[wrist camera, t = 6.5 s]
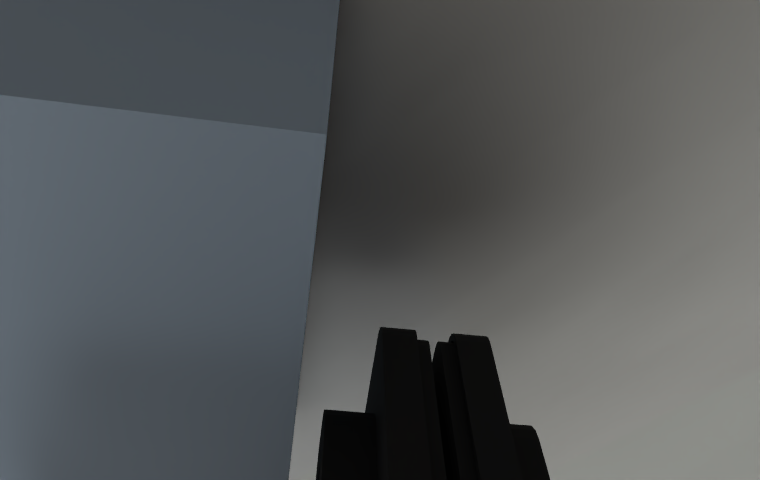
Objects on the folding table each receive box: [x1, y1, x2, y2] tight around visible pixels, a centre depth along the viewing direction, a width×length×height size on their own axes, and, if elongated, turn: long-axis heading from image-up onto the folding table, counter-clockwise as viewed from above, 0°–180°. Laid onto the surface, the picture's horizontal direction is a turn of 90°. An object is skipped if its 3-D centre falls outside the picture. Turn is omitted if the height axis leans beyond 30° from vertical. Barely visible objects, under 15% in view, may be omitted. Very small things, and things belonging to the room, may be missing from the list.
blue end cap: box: [0, 0, 340, 480], centre depth 12 cm, size 10×8×6 cm
